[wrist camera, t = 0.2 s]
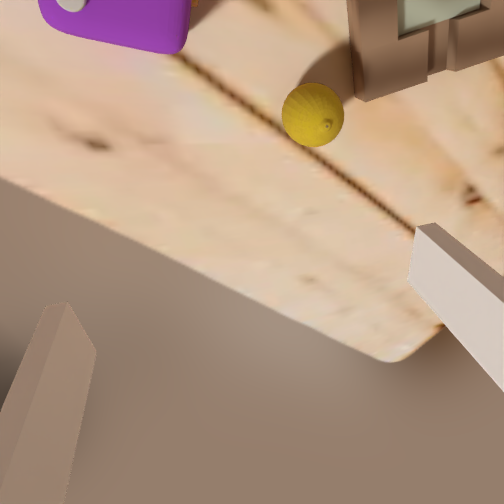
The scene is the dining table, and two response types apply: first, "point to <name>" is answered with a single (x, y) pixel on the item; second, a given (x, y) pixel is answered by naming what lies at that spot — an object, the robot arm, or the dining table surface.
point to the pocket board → (419, 40)
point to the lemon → (312, 114)
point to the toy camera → (123, 21)
